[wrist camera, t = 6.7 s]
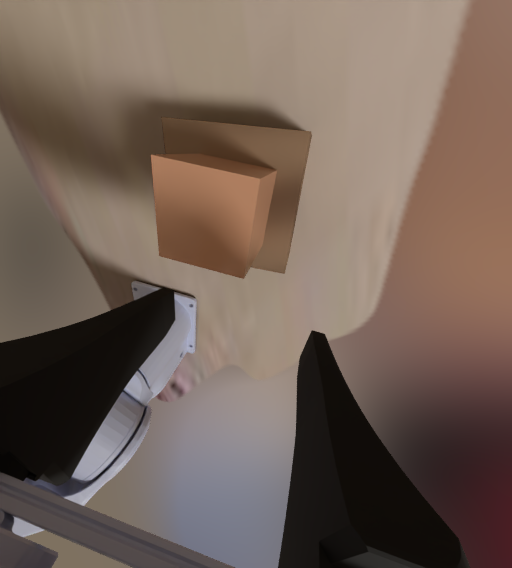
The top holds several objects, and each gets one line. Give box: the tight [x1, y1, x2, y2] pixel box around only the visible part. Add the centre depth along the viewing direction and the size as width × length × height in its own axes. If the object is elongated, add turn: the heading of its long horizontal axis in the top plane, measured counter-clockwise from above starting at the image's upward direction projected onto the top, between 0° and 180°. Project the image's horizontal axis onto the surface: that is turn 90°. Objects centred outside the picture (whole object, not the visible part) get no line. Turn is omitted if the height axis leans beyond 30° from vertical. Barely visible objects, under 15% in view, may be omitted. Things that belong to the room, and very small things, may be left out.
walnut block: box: [161, 117, 312, 274], centre depth 17 cm, size 9×9×4 cm
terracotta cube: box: [151, 154, 277, 279], centre depth 13 cm, size 5×5×5 cm
